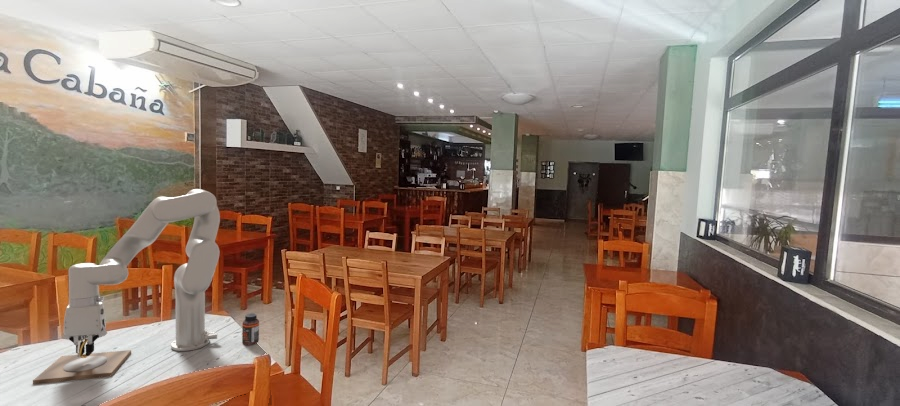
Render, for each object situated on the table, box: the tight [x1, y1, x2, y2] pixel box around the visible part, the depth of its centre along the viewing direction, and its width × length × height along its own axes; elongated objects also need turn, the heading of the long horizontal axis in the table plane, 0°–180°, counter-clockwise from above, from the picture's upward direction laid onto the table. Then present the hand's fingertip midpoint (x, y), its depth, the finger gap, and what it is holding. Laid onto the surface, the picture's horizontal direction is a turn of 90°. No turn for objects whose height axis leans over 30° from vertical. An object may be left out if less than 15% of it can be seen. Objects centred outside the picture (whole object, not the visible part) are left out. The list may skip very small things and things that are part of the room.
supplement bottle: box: [241, 312, 260, 346], centre depth 165 cm, size 6×6×11 cm
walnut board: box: [32, 349, 132, 385], centre depth 141 cm, size 20×17×2 cm
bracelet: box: [76, 335, 88, 358], centre depth 140 cm, size 7×3×8 cm, turn 13°
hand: (85, 354), depth 140 cm, fingers closed on bracelet, 1 cm apart
